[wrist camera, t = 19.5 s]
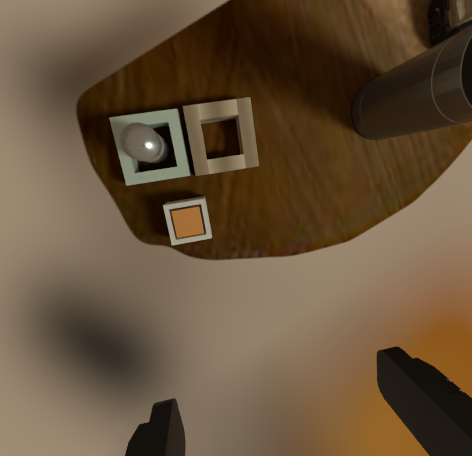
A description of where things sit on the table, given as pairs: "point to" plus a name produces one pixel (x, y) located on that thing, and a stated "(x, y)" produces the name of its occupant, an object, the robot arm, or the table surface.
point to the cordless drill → (449, 18)
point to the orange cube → (188, 221)
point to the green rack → (153, 121)
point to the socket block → (215, 113)
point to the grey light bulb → (143, 143)
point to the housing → (184, 203)
